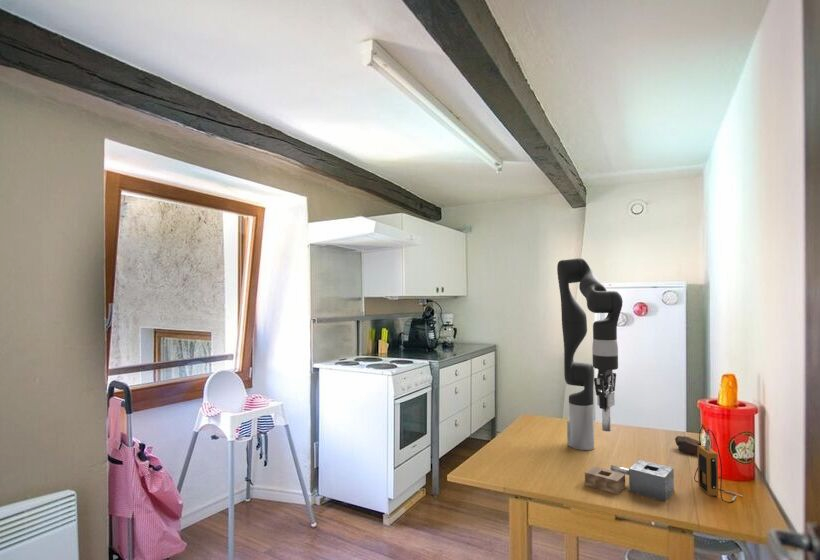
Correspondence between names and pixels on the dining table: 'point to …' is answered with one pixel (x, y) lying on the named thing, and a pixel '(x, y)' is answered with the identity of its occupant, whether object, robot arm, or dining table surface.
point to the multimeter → (709, 469)
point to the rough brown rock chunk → (687, 444)
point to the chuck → (649, 479)
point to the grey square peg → (607, 411)
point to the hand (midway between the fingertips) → (605, 407)
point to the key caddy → (605, 480)
